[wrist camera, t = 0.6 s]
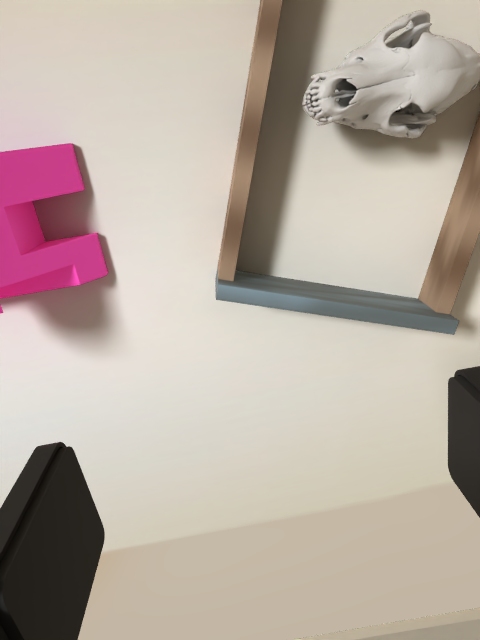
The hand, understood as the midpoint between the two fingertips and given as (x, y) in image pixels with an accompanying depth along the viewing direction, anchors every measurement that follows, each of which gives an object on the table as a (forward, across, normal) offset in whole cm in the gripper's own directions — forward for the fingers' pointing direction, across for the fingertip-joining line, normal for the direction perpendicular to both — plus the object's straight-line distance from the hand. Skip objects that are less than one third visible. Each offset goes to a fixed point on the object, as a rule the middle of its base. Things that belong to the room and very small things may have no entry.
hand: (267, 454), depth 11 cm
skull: (+28, -13, -9) cm, 33 cm away
